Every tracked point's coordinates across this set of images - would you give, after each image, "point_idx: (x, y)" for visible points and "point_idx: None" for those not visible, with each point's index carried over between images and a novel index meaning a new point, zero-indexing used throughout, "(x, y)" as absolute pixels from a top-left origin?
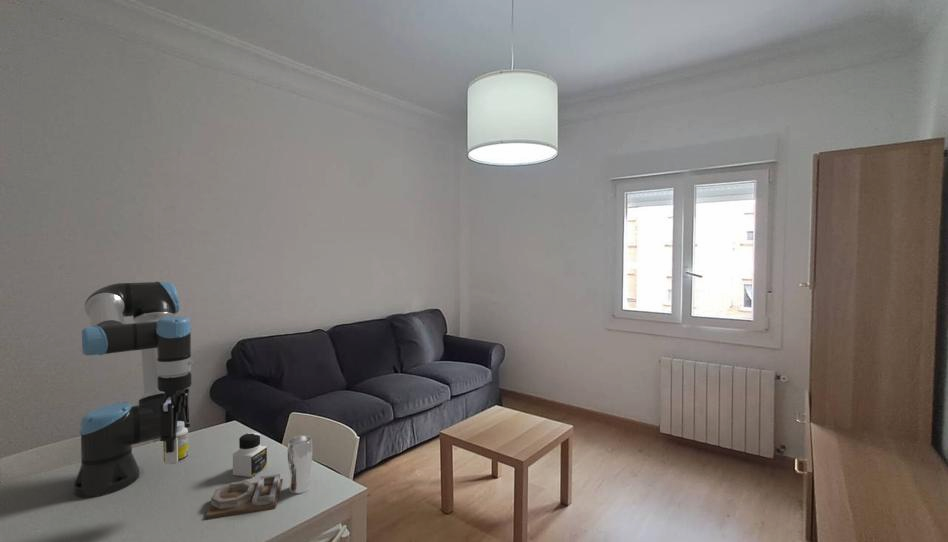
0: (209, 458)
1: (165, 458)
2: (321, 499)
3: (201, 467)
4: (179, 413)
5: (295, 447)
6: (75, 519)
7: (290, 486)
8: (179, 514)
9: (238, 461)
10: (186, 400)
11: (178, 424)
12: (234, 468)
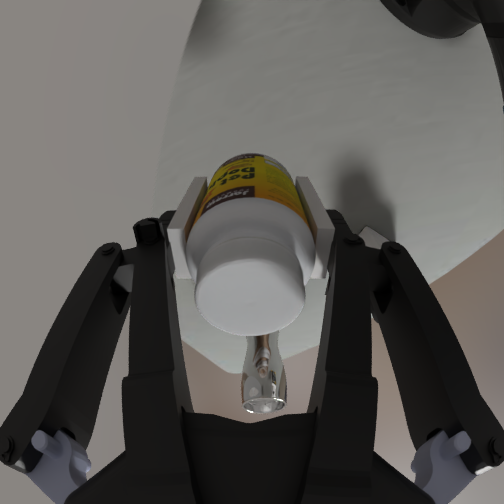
0: (460, 166)
1: (189, 187)
2: (221, 349)
3: (431, 155)
4: (320, 352)
5: (242, 399)
6: None
7: None
8: (227, 158)
9: None
10: (407, 420)
11: (227, 321)
12: (368, 237)
